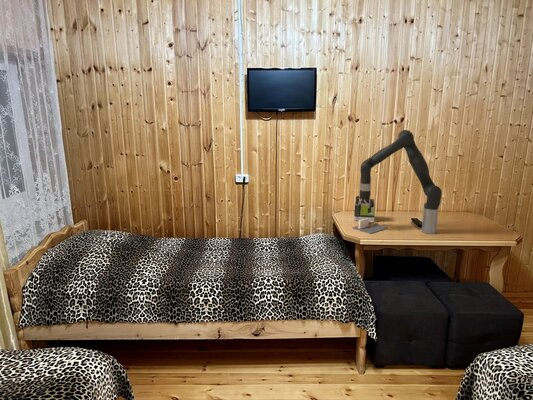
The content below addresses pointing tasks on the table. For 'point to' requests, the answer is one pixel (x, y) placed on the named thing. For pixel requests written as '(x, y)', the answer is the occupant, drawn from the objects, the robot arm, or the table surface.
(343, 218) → the table surface
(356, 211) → the tea box
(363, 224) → the tile
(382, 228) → the mat
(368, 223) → the slot stand
